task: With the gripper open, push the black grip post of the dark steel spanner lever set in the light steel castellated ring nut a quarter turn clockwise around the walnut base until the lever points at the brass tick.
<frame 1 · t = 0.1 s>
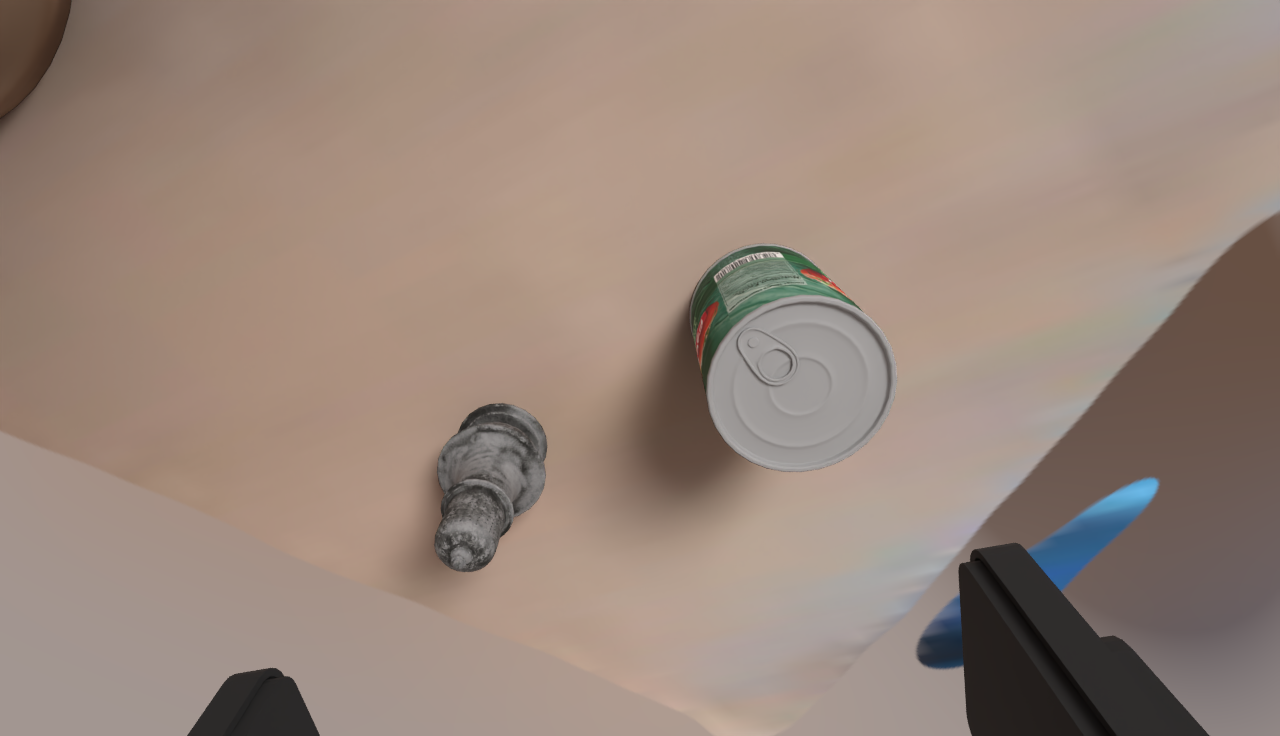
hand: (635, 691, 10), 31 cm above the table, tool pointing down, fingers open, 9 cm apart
grey turned rounded piece: (502, 443, 44), on the table
canned tomato: (759, 312, 41), on the table
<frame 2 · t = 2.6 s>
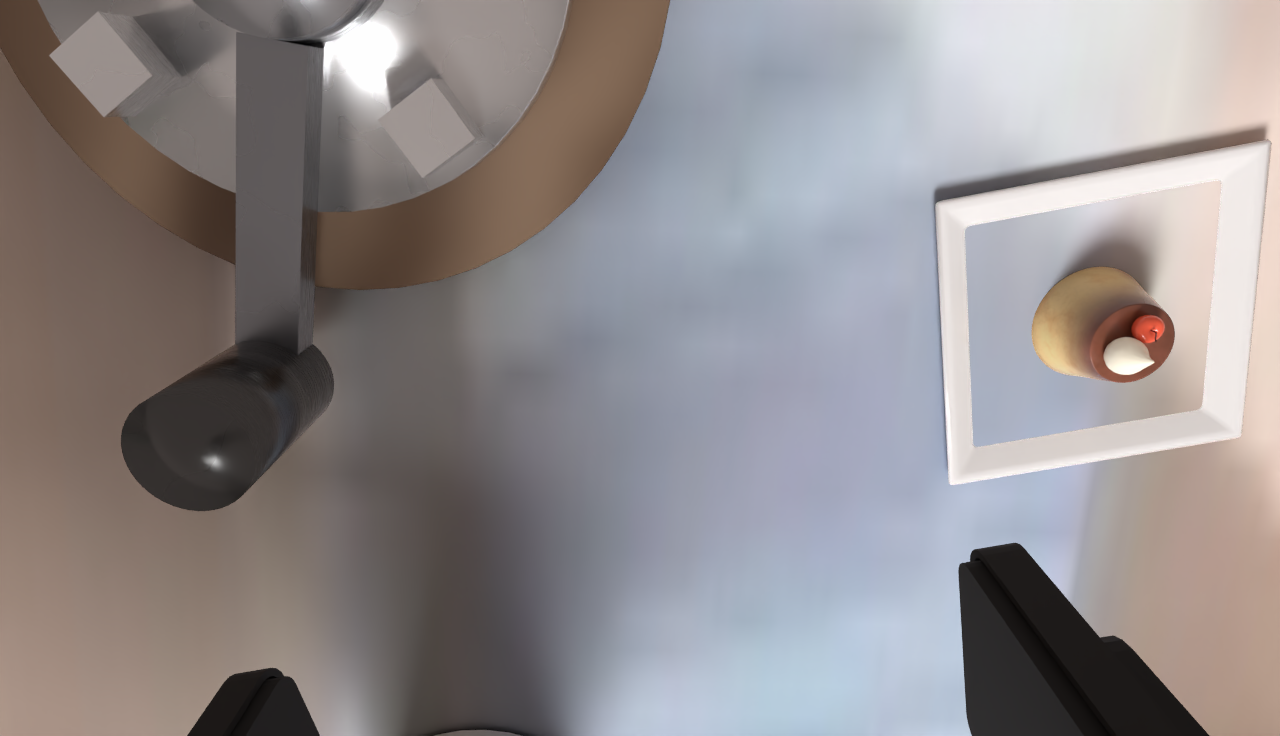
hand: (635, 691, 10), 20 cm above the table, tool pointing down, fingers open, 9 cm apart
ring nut: (255, 71, 20), point 6 cm above the table, hinge at 0.0°
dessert: (1078, 317, 30), on the table
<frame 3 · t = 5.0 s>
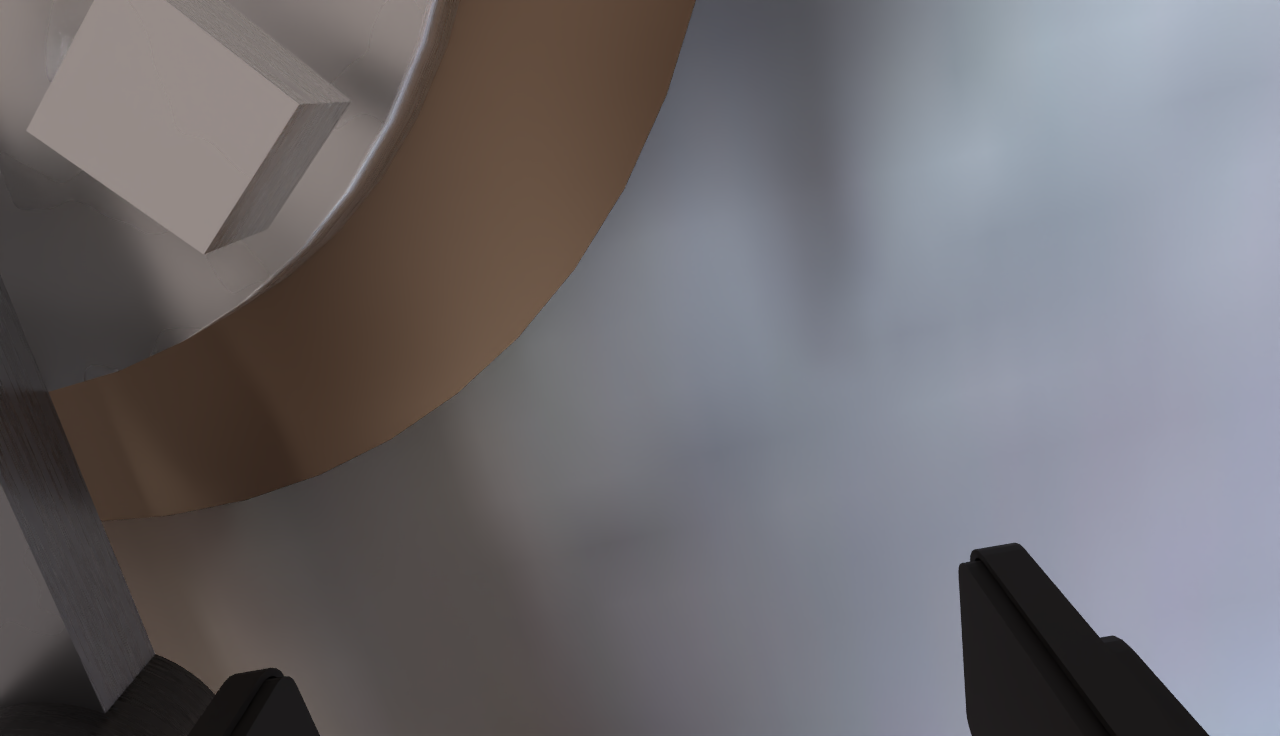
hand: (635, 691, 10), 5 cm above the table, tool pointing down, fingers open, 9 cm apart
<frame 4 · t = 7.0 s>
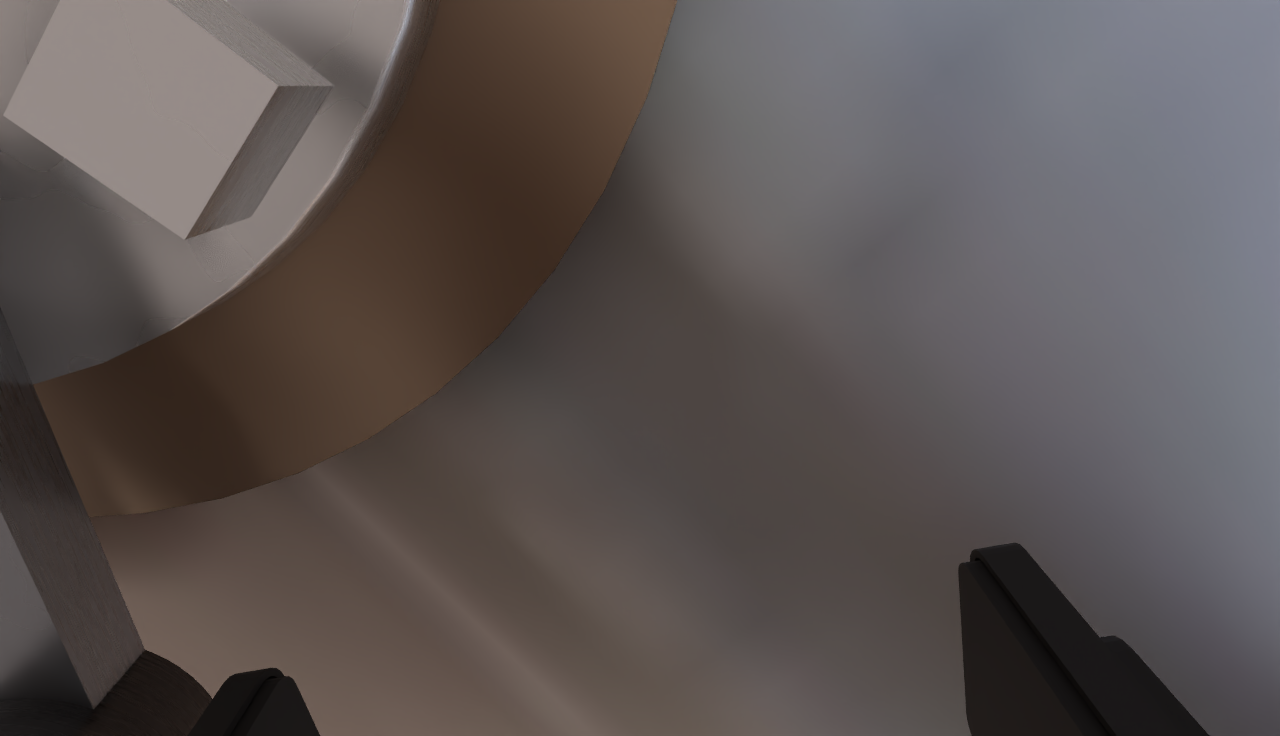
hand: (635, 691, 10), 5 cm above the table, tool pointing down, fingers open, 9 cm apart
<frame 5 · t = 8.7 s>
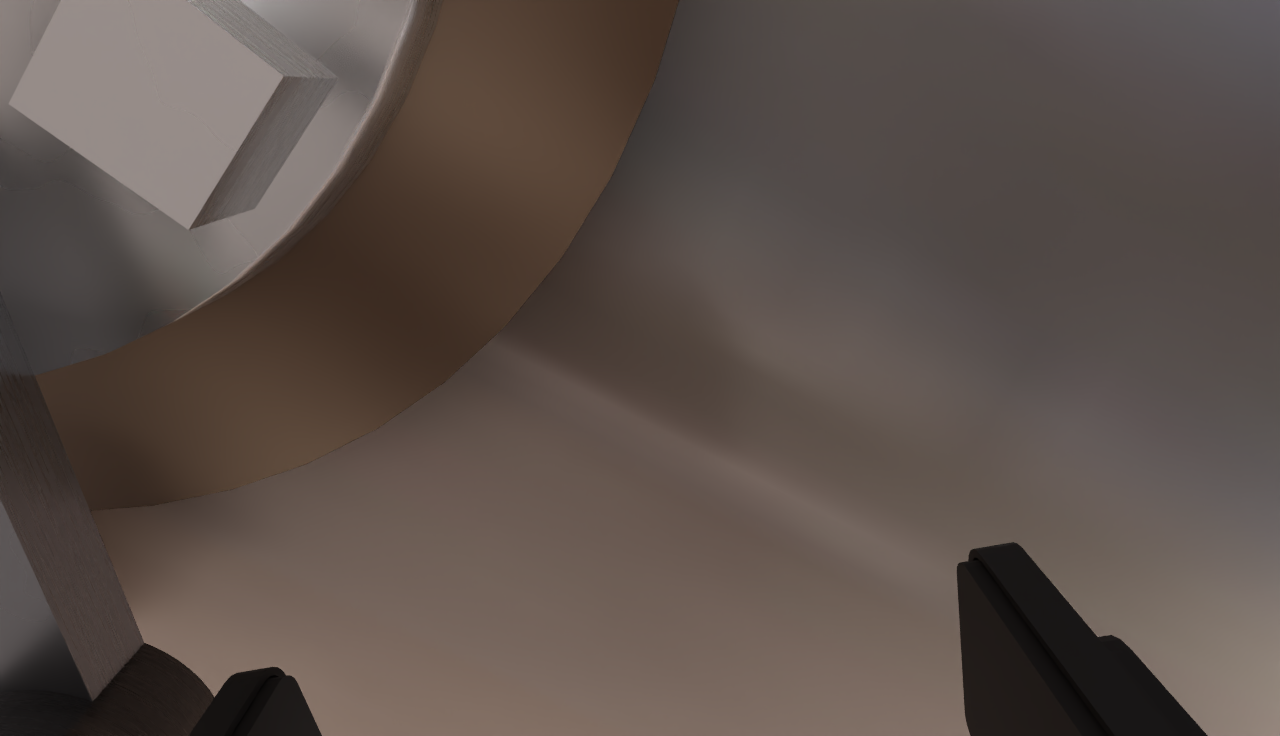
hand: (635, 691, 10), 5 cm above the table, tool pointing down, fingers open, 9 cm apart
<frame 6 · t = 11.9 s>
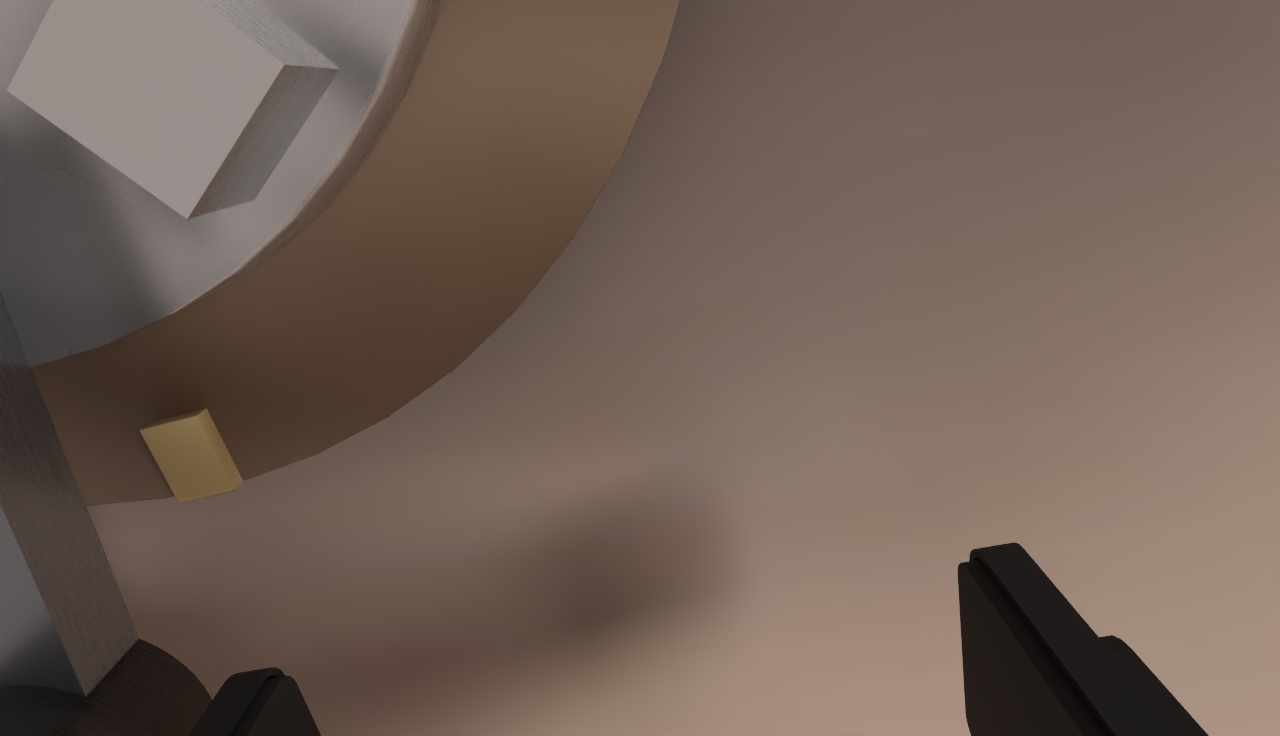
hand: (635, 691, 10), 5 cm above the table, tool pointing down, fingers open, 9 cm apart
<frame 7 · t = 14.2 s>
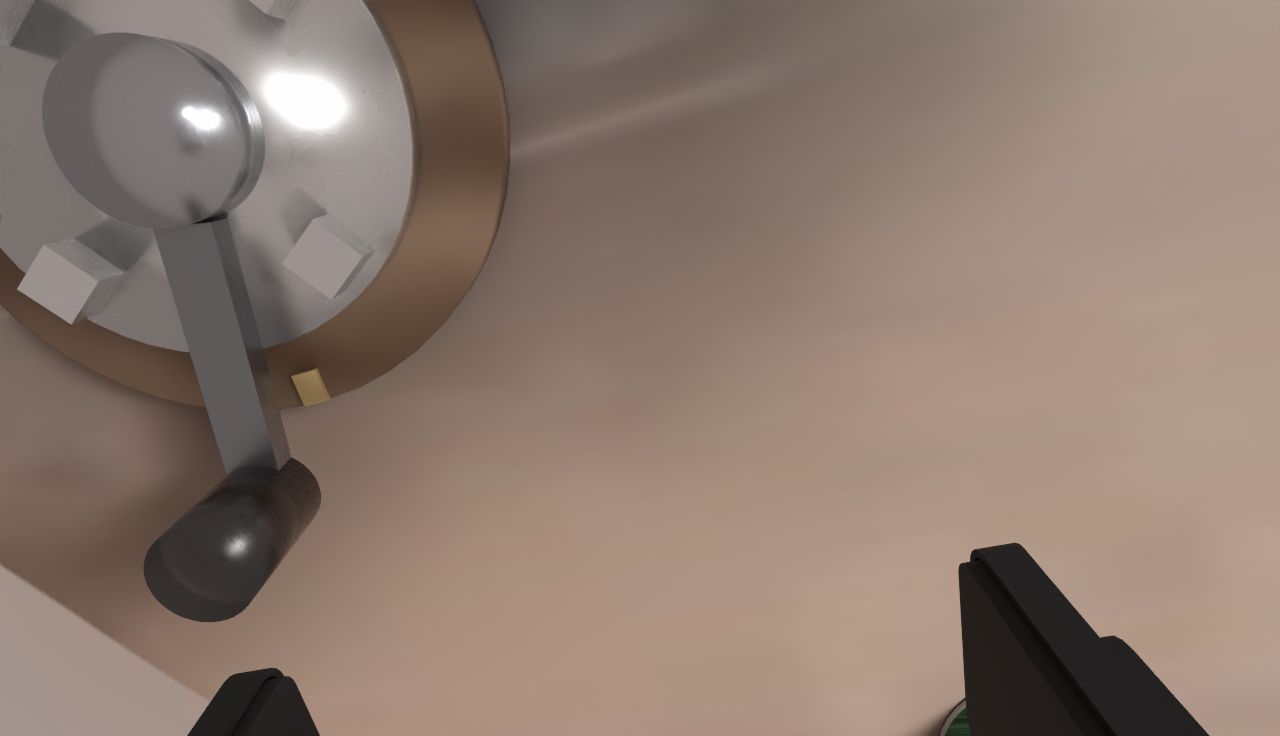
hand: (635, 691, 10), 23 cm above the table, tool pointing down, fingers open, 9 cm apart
nut base: (228, 131, 29), on the table
canned tomato: (1006, 734, 41), on the table
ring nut: (173, 256, 25), point 6 cm above the table, hinge at 99.7°
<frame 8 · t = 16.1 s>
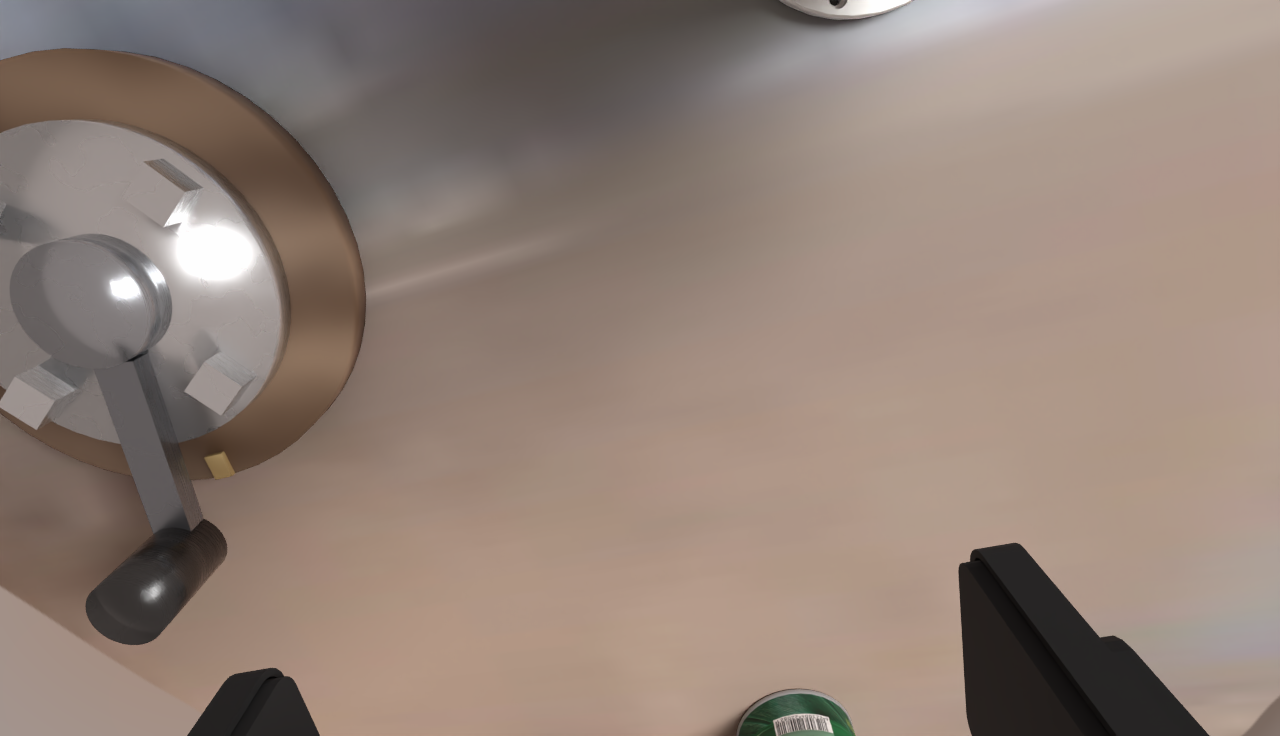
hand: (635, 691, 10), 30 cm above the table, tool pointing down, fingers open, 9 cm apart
nut base: (154, 277, 39), on the table
canned tomato: (793, 730, 51), on the table
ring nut: (105, 388, 35), point 6 cm above the table, hinge at 99.7°
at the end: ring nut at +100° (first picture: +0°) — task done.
